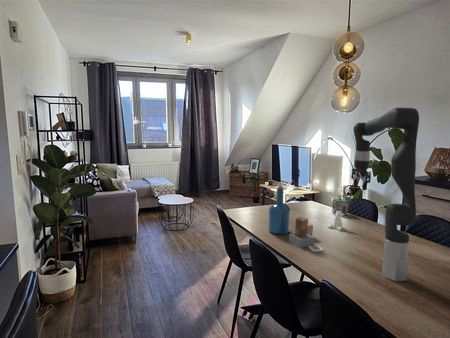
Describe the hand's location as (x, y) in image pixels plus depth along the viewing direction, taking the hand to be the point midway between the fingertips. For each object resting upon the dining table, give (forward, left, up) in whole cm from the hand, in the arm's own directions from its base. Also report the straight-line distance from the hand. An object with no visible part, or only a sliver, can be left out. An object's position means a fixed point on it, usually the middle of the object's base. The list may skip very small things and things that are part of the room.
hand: (359, 188), depth 168 cm
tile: (-2, +25, -33) cm, 42 cm away
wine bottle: (+28, +36, -33) cm, 56 cm away
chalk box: (+62, -25, -33) cm, 75 cm away
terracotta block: (+17, +22, -33) cm, 43 cm away
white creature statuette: (+30, -5, -33) cm, 45 cm away
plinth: (+7, +30, -34) cm, 45 cm away
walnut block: (+7, +30, -28) cm, 42 cm away
